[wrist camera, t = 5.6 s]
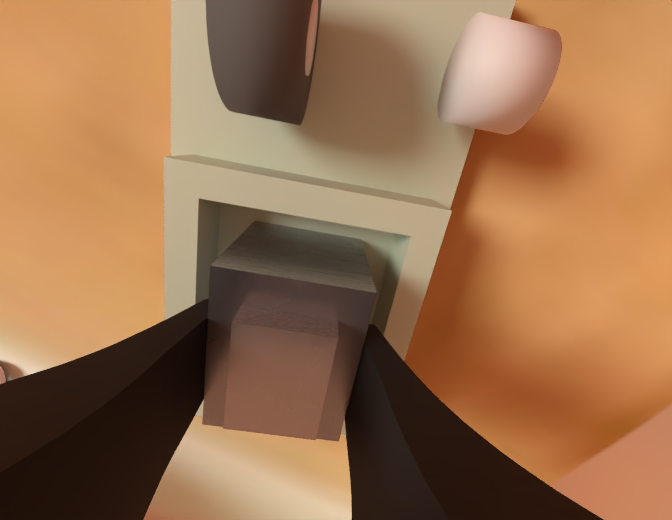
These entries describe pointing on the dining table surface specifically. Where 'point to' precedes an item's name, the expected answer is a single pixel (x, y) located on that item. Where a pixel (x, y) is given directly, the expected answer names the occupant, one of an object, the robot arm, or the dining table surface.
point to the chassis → (349, 140)
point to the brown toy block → (286, 331)
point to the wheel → (263, 55)
